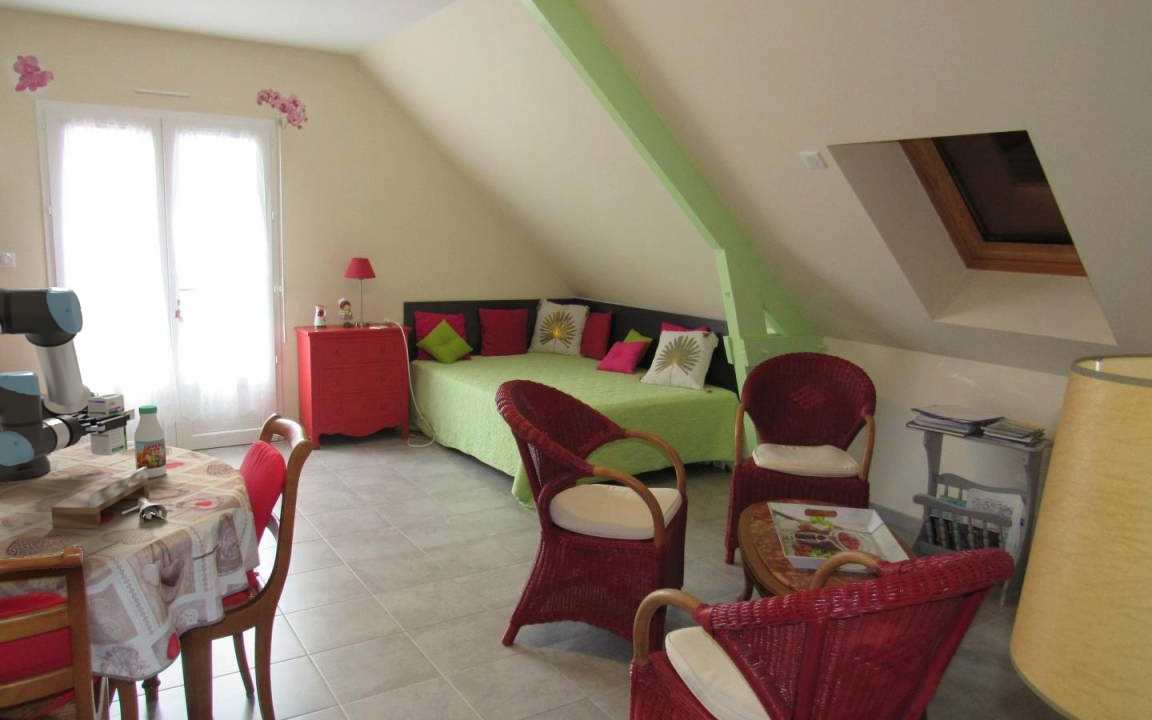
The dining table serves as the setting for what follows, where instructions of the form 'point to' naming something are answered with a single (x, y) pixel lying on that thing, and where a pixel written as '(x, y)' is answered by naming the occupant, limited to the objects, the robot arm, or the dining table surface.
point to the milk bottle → (150, 443)
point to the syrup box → (114, 438)
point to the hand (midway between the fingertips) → (120, 413)
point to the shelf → (99, 500)
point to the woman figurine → (149, 509)
